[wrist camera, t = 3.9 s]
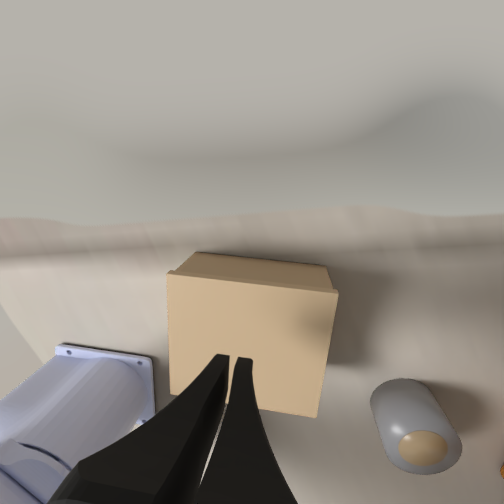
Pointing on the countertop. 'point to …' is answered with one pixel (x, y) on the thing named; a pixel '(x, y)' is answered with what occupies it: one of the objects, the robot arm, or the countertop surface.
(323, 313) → the lid
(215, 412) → the robot arm
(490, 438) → the countertop surface
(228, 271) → the box
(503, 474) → the coffee package
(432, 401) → the grey rounded cylinder
